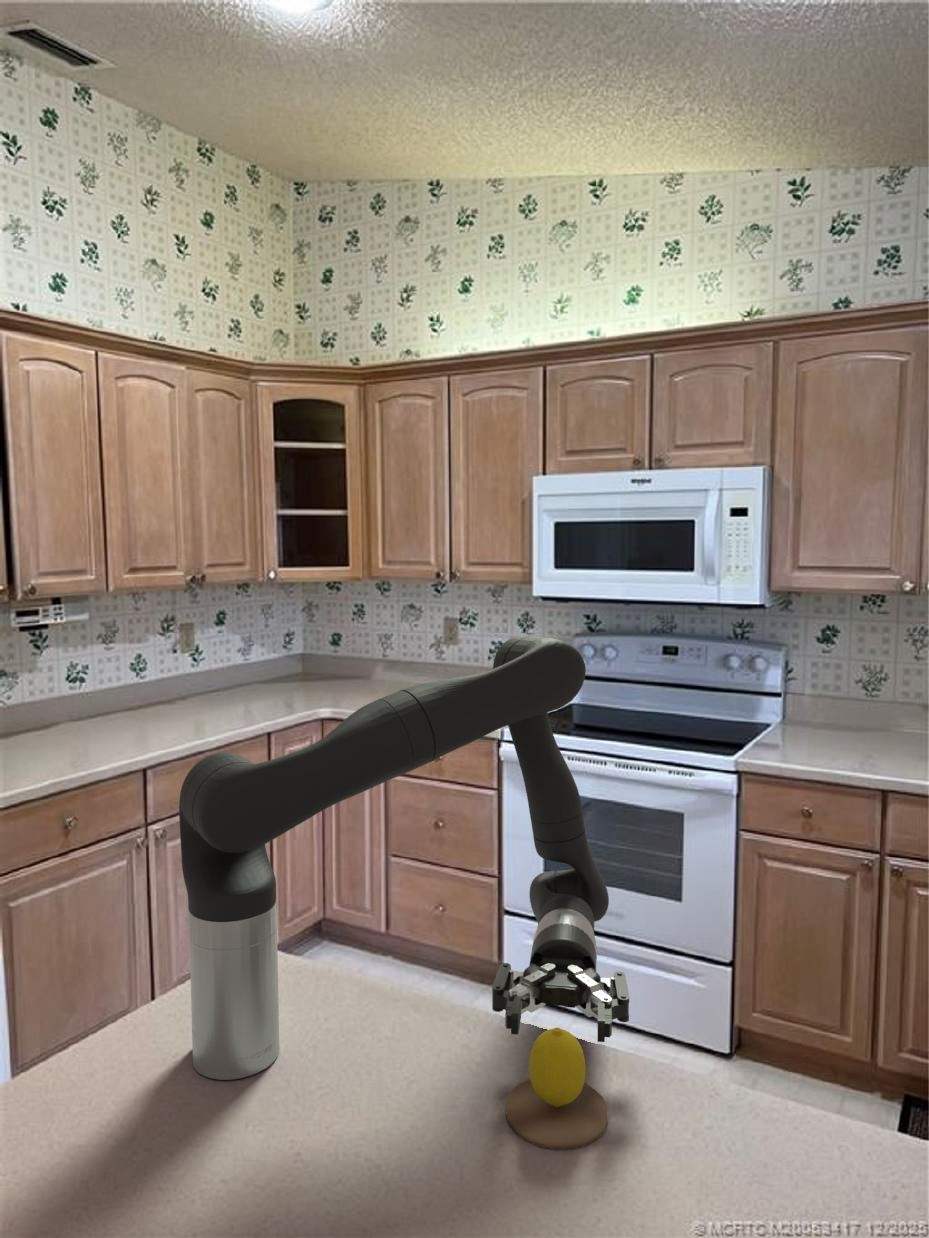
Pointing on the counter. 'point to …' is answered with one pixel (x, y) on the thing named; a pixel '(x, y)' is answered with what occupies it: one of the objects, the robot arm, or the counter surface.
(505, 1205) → the counter surface
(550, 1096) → the lemon
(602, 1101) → the walnut board
